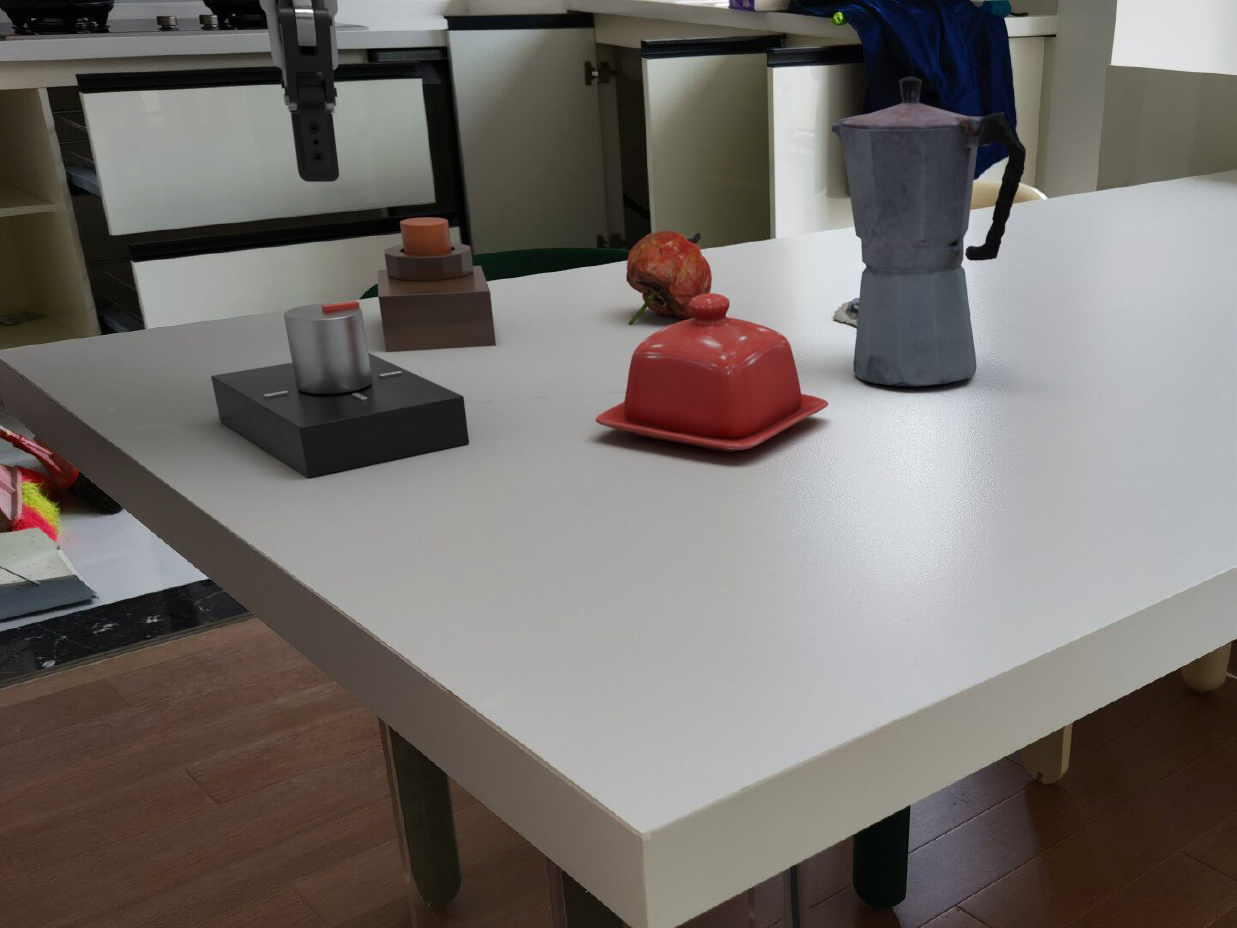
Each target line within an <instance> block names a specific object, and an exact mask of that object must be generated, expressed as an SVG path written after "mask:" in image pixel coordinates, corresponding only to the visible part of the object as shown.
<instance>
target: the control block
mask: <svg viewBox="0 0 1237 928" xmlns="http://www.w3.org/2000/svg"><path fill="white" fill-rule="evenodd" d="M451 250H452V251H451V252H447V253H440V254H424V255H418V254H406V253H404V249H403V244H397V245H393V246H390V247H387V248H384V249H383V252H384V261H385V268H386V269H378V270H377V291H378V292H377V295H378V303H379V304H378V305H379V311H380V317H381V325H382V331H383V339H384V346H385V352H386V353H397V352H415V351H428V350H429V351H431V350H446V349H463V348H479V347H480V348H481V347H494V346H495V347H496V346H497V342H496V332H495V324H494V323H495V322H494V315H493V305H492V295H491V290H490V287H489V284H488V281H487V279H486V276H485V273H484V270H483V268H482V265H473V264H474V263H473V255H472V249H471V246H470V245H468V244H463V243H459V242H451Z"/></svg>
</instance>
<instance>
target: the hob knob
mask: <svg viewBox="0 0 1237 928" xmlns="http://www.w3.org/2000/svg"><path fill="white" fill-rule="evenodd" d="M360 306H361V305H360V302H359V301H356V300H351V301H343V302H336V303H335V302H334V303H329V302H328V303H314V304H307V305H306V304H305V305H301V306H297V307H293V308H290V309H288V310H286V311H284V313H283V319H284V325H285V331H286V336H287V341H288V346H289V347H288V348H289V353H290V359H291V363H292V365H293V371H294V376H295V382H296V387H297V389H298V390H300V391H302V392H306V393H311V394H339V393H347V392H352V391H357V390H360V389H363V388H365V387H368V386H369V385H371V383H372V376H371V369H370V363H369V356H368V353H369V350H368V343H367V336H366V330H365V329H366V328H365V324H364V323H365V322H364V316H363V311H362V308H361V307H360Z"/></svg>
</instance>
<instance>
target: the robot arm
mask: <svg viewBox="0 0 1237 928" xmlns="http://www.w3.org/2000/svg"><path fill="white" fill-rule="evenodd" d="M259 5H260V8H261V9H262V10H263V11H264V12H265V15H266V25H267V31H268V39H269V46H270V54H271V55H270V56H271V59H272V61H273V63H274V65H275V66H276V67H277V68H278V69H280V70H281V75H282V78H281V79H280V86H281V89H284V93H283V95H282V96H283V102H284V104H285V107H286V106H287V110H288V112H289V114H290V120H291V127H292V137H293V144H294V150H295V152H294V153H295V159H296V168H297V172H298V175H299V178H300V179H302V180H303V181H305V182H307V183H332V182H336V181H337V180H338V179H339V177H340V168H339V160H338V159H339V158H338V152H337V151H338V149H337V142H336V141H337V140H336V134H335V133H336V132H335V124H334V116H333V115H334V114H335V107H337V98H338V89H337V87H335V79H334V78H335V76H334V70H336V69H337V68H338V67H339V64H340V63H339V62H340V60H339V51H338V43H337V34H336V33H337V32H336V24H335V17H336V15H337V14H338V11H339V10H338V9H339V6H338V0H259ZM304 72H305V73H304Z"/></svg>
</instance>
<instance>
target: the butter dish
mask: <svg viewBox="0 0 1237 928" xmlns="http://www.w3.org/2000/svg"><path fill="white" fill-rule="evenodd" d="M730 304H731V303H730V299H729V298H727V296H725V295H723V294H719V293H712V292H710V293H707V294H701V295H699V296H696V297H694V298H693V299H692V300H691V301H690V302H689V308H690V309H691V310H692V311H693V312H694V315H693V316H694V317H693V318H687V319H683V320H682V321H677V322H675V323H671V324H670V325H667V326H665V327H662V328H661V329H659V330H657V331H655V332H653V333H652V334H651V335H649V336H647V337H646V338H644V339H643V341H641V342H640V344H639V345H637V346H636V348H635V349H634V351H633V353H632V355H631V360H630V364H629V368H628V376H627V382H626V391H625V397H624V401H623V402H621V403H619V404H617V405H615V406H612V407H611V408H609V409H607V410H605V411H603V412H602V413H600V414H599V415H597V416H596V417H595V423H597V424H599V425H601V426H604V427H608V428H611V429H614V430H615V429H616V430H618V431H619V430H620V431H625V432H630V433H634V434H636V435H637V436H641V437H644V438H645V437H646V438H651V439H656V440H661V441H665V442H666V441H667V442H672V443H678V444H683V445H689V446H695V447H700V448H704V449H710V450H714V451H720V452H726V453H734V452H737V451H744V450H748V449H749V450H750V449H752V448H754V447H757V446H758V445H761V444H762V443H764V442H765V441H767V440H769V439H770V438H772V437H774V436H775V435H777V434H779V433H781V432H783V431H784V430H786V429H789V428H790V427H792V426H794V425H796V424H797V423H799V422H801V421H803V420H805V419H807V418H808V417H811V416H814V415H815V414H817V413H819V412H821V411H822V410H824V409H825V408H827V407H828V405H829V402H828V401H827V400H826V399H823V398H820V397H817V396H813V395H809V394H805V393H802V390H801V384H800V379H799V374H798V369H797V366H796V363H795V362H796V361H795V357H794V353H793V350H792V347H791V344H790V341H789V340H788V338H786V336H785V335H783V334H782V333H780V332H779V331H776V330H775V329H774V328H773V329H772V328H770V327H768V326H764V325H762V324H759V323H755V322H753V321H749V320H745V319H741V318H734V317H728V316H727V313H728V311H729V308H730Z"/></svg>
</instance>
